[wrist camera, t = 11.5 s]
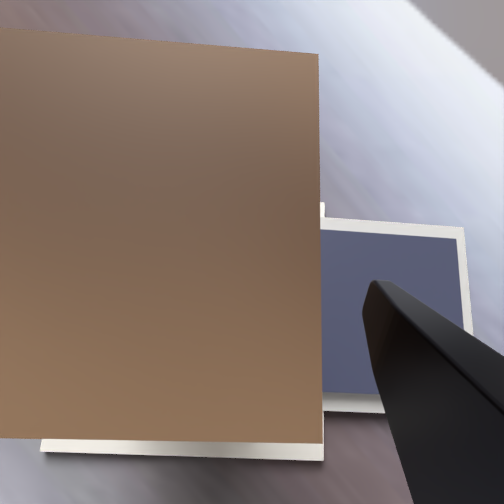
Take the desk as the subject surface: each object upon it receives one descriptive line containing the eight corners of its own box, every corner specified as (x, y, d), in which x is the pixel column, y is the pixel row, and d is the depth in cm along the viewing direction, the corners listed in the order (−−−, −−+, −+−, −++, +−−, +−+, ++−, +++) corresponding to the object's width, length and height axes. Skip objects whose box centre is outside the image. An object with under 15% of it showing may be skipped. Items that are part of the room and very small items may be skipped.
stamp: (253, 380, 17) (379, 507, 3) (133, 376, 17) (-255, 501, 3) (257, 264, 18) (358, 23, 5) (145, 259, 18) (-93, -18, 4)
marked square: (321, 458, 16) (323, 460, 16) (44, 448, 16) (40, 451, 15) (322, 205, 19) (324, 202, 19) (87, 188, 18) (84, 184, 18)
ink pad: (471, 414, 17) (489, 419, 16) (281, 406, 17) (285, 411, 16) (456, 231, 19) (471, 223, 18) (286, 218, 19) (290, 210, 18)
